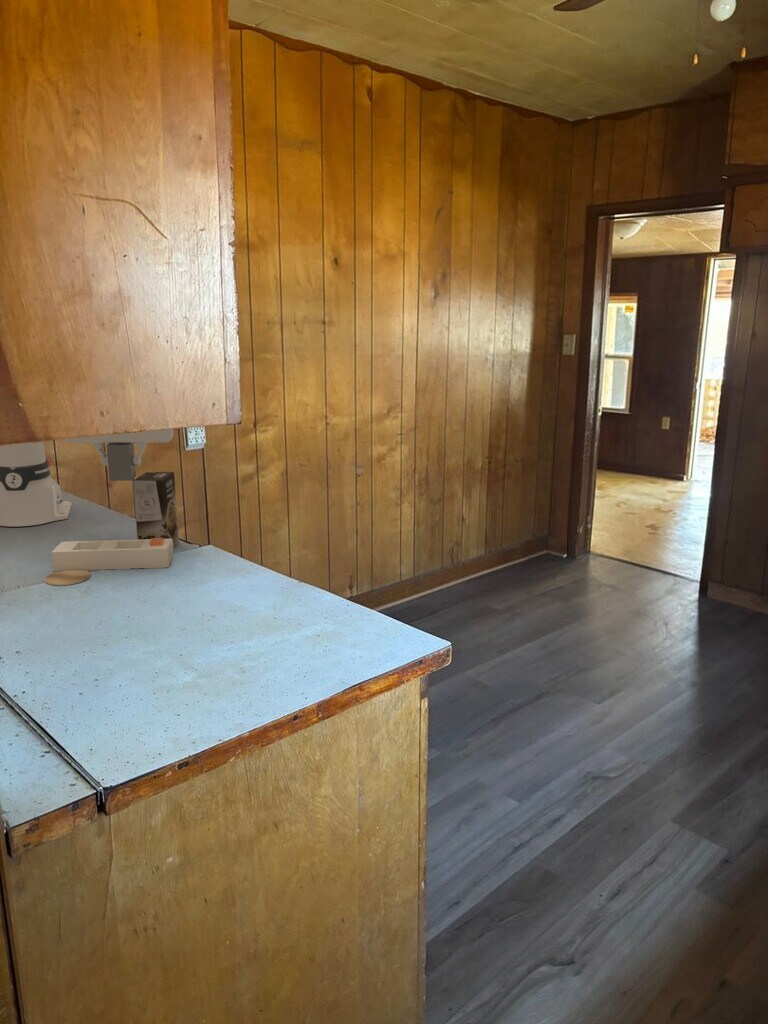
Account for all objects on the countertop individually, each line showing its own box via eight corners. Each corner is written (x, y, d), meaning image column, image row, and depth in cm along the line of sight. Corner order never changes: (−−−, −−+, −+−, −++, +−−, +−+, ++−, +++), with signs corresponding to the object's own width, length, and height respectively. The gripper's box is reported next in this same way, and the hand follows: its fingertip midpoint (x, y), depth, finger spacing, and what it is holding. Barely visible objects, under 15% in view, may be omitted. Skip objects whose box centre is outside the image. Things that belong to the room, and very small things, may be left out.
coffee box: (167, 555, 158) (162, 480, 154) (137, 554, 158) (131, 479, 154) (180, 542, 167) (175, 471, 163) (151, 542, 167) (145, 470, 163)
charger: (114, 476, 150) (111, 440, 148) (136, 475, 150) (133, 440, 148) (109, 480, 146) (106, 444, 144) (131, 480, 146) (129, 444, 144)
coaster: (52, 572, 147) (52, 570, 147) (95, 570, 148) (94, 569, 148) (39, 586, 139) (39, 584, 139) (84, 585, 140) (84, 582, 140)
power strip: (53, 571, 147) (50, 548, 146) (64, 560, 154) (61, 537, 153) (168, 567, 150) (166, 544, 149) (173, 556, 157) (172, 534, 155)
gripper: (174, 392, 148) (178, 461, 151) (66, 392, 145) (73, 462, 149) (169, 396, 142) (173, 467, 145) (56, 396, 139) (63, 469, 143)
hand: (121, 465), depth 147 cm, fingers closed on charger, 4 cm apart
